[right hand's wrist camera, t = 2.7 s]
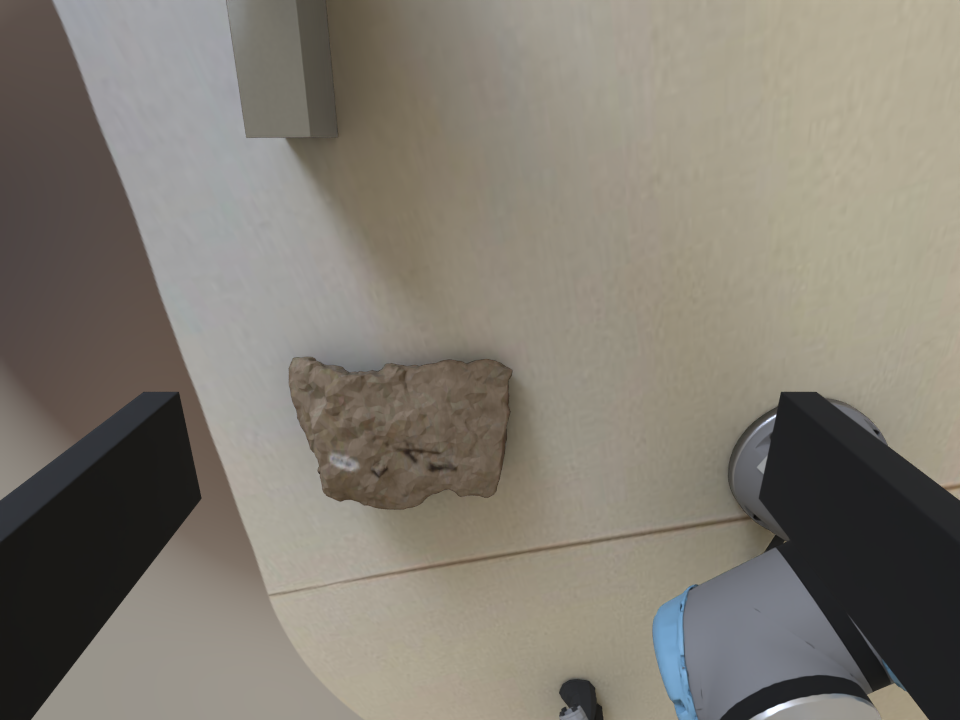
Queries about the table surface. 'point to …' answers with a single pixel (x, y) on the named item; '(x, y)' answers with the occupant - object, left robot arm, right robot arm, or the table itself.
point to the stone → (404, 428)
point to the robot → (580, 701)
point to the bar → (283, 67)
